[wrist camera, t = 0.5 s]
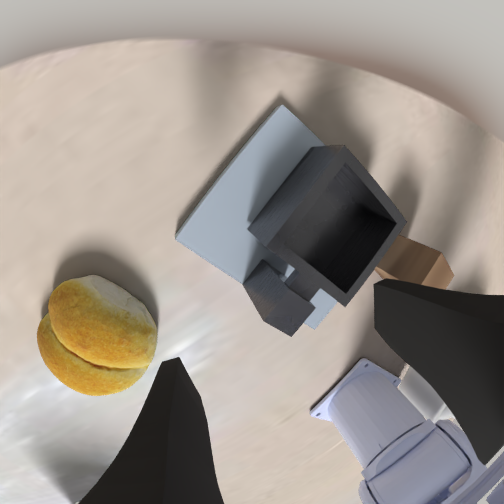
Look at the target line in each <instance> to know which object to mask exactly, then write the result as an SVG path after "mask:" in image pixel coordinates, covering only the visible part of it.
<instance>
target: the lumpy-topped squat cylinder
mask: <svg viewBox="0 0 504 504" xmlns="http://www.w3.org/2000/svg"><path fill="white" fill-rule="evenodd" d="M399 390H400V392H401V393H402V394H403V395H404V396H405V397H406V398H407V399H408V400H409V401H410V402H411V403H412V404H413V405H414V406H415V407H416V408H417V409H418V410H419V411H420V413H421V414H422V415H423V416H424V417H425V418H426V419H430V420H431V421H432V422H433V423H434V424H435V423H436V422H437V421H438V420H440V419H441V420H447V419H449V418H454V419H456V418H455V416H454V415H453V414H452V412H451V411H450V409H449V408H448V407H447V405H446V404H445V403H444V401H443V400H442V399H441V398H440V396H439V395H438V394H437V393H436V391H435V390H434V389H433V388H432V386H431V385H430V384H429V383H428V382H427V381H426V380H425V379H424V378H423V377H422V376H421V375H419V374H418V373H417V372H416V371H415V370H414V369H413V368H412V367H411V366H409V369H408V371H407V373H406V375H405V376H404V378H403V380H402V382H401V384H400V387H399Z"/></svg>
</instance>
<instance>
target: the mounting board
mask: <svg viewBox="0 0 504 504" xmlns="http://www.w3.org/2000/svg"><path fill="white" fill-rule="evenodd" d="M316 146H326V145H325V144H324V143H323V142H322V141H321V140H320V139H319V138H318V137H317V136H316V135H315V134H314V133H313V132H312V131H311V130H309V129H308V128H307V127H306V126H305V125H304V124H303V123H302V122H301V121H300V120H299V119H298V118H297V117H296V116H295V115H294V114H292V113H291V112H290V111H289V110H288V109H287V108H286V107H285V106H284V105H280V106H278V107H276V108H275V110H274V111H273V112H272V113H271V114H270V115H269V116H268V118H267V119H266V120H265V121H264V122H263V123H262V124H261V126H260V127H259V128H258V129H257V130H256V131H255V133H254V134H253V135H252V136H251V137H250V139H249V140H248V141H247V142H246V143H245V145H244V146H243V147H242V148H241V149H240V151H239V152H238V153H237V154H236V156H235V157H234V158H233V159H232V161H231V162H230V163H229V164H228V166H227V167H226V168H225V169H224V171H223V172H222V173H221V174H220V176H219V177H218V178H217V180H216V181H215V182H214V183H213V185H212V186H211V187H210V189H209V190H208V191H207V193H206V194H205V195H204V196H203V198H202V199H201V200H200V202H199V203H198V204H197V206H196V207H195V208H194V210H193V211H192V213H191V214H190V215H189V217H188V218H187V219H186V221H185V222H184V223H183V225H182V226H181V228H180V229H179V230H178V232H177V233H176V235H175V240H177V241H178V242H180V243H181V244H182V245H184V246H185V247H187V248H188V249H190V250H191V251H193V252H194V253H196V254H197V255H199V256H200V257H202V258H203V259H205V260H206V261H208V262H209V263H211V264H212V265H214V266H215V267H217V268H218V269H220V270H221V271H223V272H224V273H226V274H228V275H229V276H231V277H232V278H234V279H235V280H237V281H238V282H240V283H241V284H243V283H244V281H245V280H246V279H247V278H248V276H249V275H250V274H251V272H252V271H253V270H254V269H255V267H256V266H257V265H258V264H259V262H260V261H261V260H262V259H263V260H265V261H266V262H267V263H269V264H270V265H271V266H273V267H274V268H276V269H277V270H278V271H280V272H281V273H283V274H284V275H285V276H286V277H287V278H288V277H289V276H290V274H291V273H292V272H293V271H294V268H293V267H292V266H290V265H289V264H288V263H287V262H285V261H284V260H283V259H281V258H280V257H279V256H277V255H276V254H275V253H273V252H272V251H271V250H269V249H268V248H267V247H265V246H264V245H263V244H262V243H261V242H260V241H259V240H258V239H257V238H256V237H255V236H254V235H253V234H251V233H250V232H249V231H248V230H247V228H248V227H249V225H250V224H251V223H252V222H253V220H254V219H255V218H256V216H257V215H258V214H259V213H260V211H261V210H262V209H263V207H264V206H265V205H266V204H267V202H268V201H269V200H270V198H271V197H272V196H273V195H274V193H275V192H276V191H277V189H278V188H279V187H280V186H281V184H282V183H283V182H284V181H285V179H286V178H287V177H288V176H289V174H290V173H291V172H292V170H293V169H294V168H295V167H296V165H297V164H298V163H299V162H300V160H301V159H302V158H303V157H304V155H305V154H306V153H307V152H308V150H309V149H310V148H311V147H316ZM310 302H311V303H312V304H313V305H314V306H315V307H316V308H315V310H314V311H313V312H312V313H311V314H310V316H309V317H308V318H307V319H306V320H305V322H304V323H305V324H306V325H308V326H309V327H311V328H313V329H314V330H315V329H316V327H317V326H318V325H319V324H320V323H321V321H322V320H323V319H324V318H325V317H326V315H327V314H328V313H329V312H330V311H331V309H332V308H333V307H334V306H335V304H336V303H337V302H338V301H337V300H335V299H334V298H333V297H331V296H330V295H329V294H327V293H326V292H325V291H323V290H322V289H321V288H320V289H319V290H318V292H317V293H316V294H315V295H314V297H313V298H312V299H311V300H310Z"/></svg>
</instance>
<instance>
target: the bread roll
mask: <svg viewBox="0 0 504 504" xmlns="http://www.w3.org/2000/svg"><path fill="white" fill-rule="evenodd" d="M48 310H49V312H48V313H47V314H46V315H45V316H44V318H43V319H42V320H41V322H40V324H39V327H38V331H37V342H38V346H39V350H40V353H41V356H42V358H43V360H44V362H45V364H46V366H47V367H48V368H49V369H50V371H51V372H52V373H53V374H54V375H55V376H56V377H57V378H58V379H59V380H60V381H61V382H62V383H63V384H65V385H66V386H68V387H69V388H71V389H73V390H75V391H77V392H80V393H83V394H86V395H92V396H101V395H109V394H114V393H117V392H121V391H123V390H125V389H127V388H129V387H130V386H132V385H133V384H134V383H135V382H137V381H138V380H139V379H140V378H141V377H142V375H143V374H144V373H145V371H146V370H147V368H148V366H149V364H150V363H151V361H152V359H153V357H154V354H155V350H156V346H157V327H156V324H155V322H154V320H153V318H152V317H151V315H150V313H149V312H148V310H147V308H146V306H145V305H144V304H143V303H142V302H140V301H139V300H138V299H136V298H135V297H133V296H132V295H131V294H130V293H128V292H127V291H126V290H124V289H123V288H121V287H119V286H118V285H116V284H114V283H112V282H110V281H109V280H107V279H105V278H102V277H100V276H97V275H89V276H85V277H81V278H74V279H70V280H67V281H64V282H63V283H61V284H60V285H59V286H58V287H57V288H56V289H55V290H54V291H53V292H52V294H51V296H50V299H49V303H48Z"/></svg>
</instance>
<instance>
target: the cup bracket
mask: <svg viewBox="0 0 504 504" xmlns="http://www.w3.org/2000/svg"><path fill="white" fill-rule="evenodd" d="M406 223H407V221H406V220H405V218H404V217H403V216H402V214H401V213H400V212H399V210H398V209H397V208H396V206H395V205H394V204H393V202H392V201H391V200H390V198H389V197H388V196H387V195H386V193H385V192H384V191H383V190H382V188H381V187H380V186H379V185H378V183H377V182H376V181H375V180H374V179H373V177H372V176H371V175H370V174H369V173H368V171H367V170H366V169H365V168H364V167H363V166H362V164H361V163H360V162H359V161H358V160H357V159H356V158H355V156H354V155H353V154H352V153H351V152H350V151H349V150H348V149H347V148H346V147H345V145H335V146H316V147H311V148H310V149H309V150H308V152H307V153H306V154H305V155H304V157H303V158H302V159H301V160H300V162H299V163H298V164H297V165H296V167H295V168H294V169H293V170H292V172H291V173H290V174H289V176H288V177H287V178H286V179H285V181H284V182H283V183H282V184H281V186H280V187H279V188H278V189H277V191H276V192H275V193H274V195H273V196H272V197H271V198H270V200H269V201H268V202H267V204H266V205H265V206H264V207H263V209H262V210H261V211H260V213H259V214H258V215H257V216H256V218H255V219H254V220H253V222H252V223H251V224H250V225H249V227H248V228H247V230H248V231H249V232H250V233H251V234H253V235H254V236H255V237H256V238H257V239H258V240H259V241H260V242H261V243H262V244H263V245H264V246H265V247H267V248H268V249H269V250H271V251H272V252H273V253H275V254H276V255H277V256H279V257H280V258H281V259H283V260H284V261H285V262H287V263H288V264H289V265H290V266H292V267H293V268H294V271H293V272H292V273H291V274H290V276H289V277H288V278H287V277H286V276H285V275H284V274H283V273H281V272H280V271H278V270H277V269H276V268H274V267H273V266H271V265H270V264H269V263H267V262H266V261H265V260H263V259H262V260H261V261H260V262H259V264H258V265H257V266H256V267H255V269H254V270H253V271H252V272H251V274H250V275H249V276H248V278H247V279H246V280H245V281H244V283H243V286H244V288H245V290H246V291H247V293H248V295H249V297H250V298H251V300H252V302H253V304H254V305H255V307H256V309H257V311H258V312H259V314H260V316H261V318H262V319H263V321H264V322H266V323H268V324H270V325H271V326H273V327H275V328H277V329H278V330H280V331H282V332H284V333H286V334H287V335H289V336H291V337H292V336H293V334H294V333H295V332H296V331H297V330H298V329H299V327H300V326H301V325H302V324H303V323H304V322H305V320H306V319H307V318H308V317H309V316H310V314H311V313H312V312H313V311H314V310H315V308H316V307H315V306H314V305H313V304H312V303H311V302H310V300H311V299H312V298H313V297H314V295H315V294H316V293H317V292H318V290H319V289H320V288H321V289H322V290H323V291H325V292H326V293H327V294H329V295H330V296H331V297H333V298H334V299H335V300H337V301H338V302H339V303H341V304H342V305H343V306H344V307H346V306H347V304H348V303H349V302H350V300H351V299H352V298H353V297H354V295H355V294H356V293H357V292H358V290H359V289H360V288H361V286H362V285H363V284H364V282H365V281H366V280H367V278H368V277H369V276H370V274H371V273H372V272H373V270H374V269H375V268H376V266H377V265H378V263H379V262H380V261H381V259H382V258H383V256H384V255H385V254H386V252H387V251H388V249H389V248H390V246H391V245H392V244H393V242H394V241H395V239H396V238H397V236H398V235H399V233H400V232H401V230H402V229H403V227H404V226H405V224H406Z"/></svg>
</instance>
